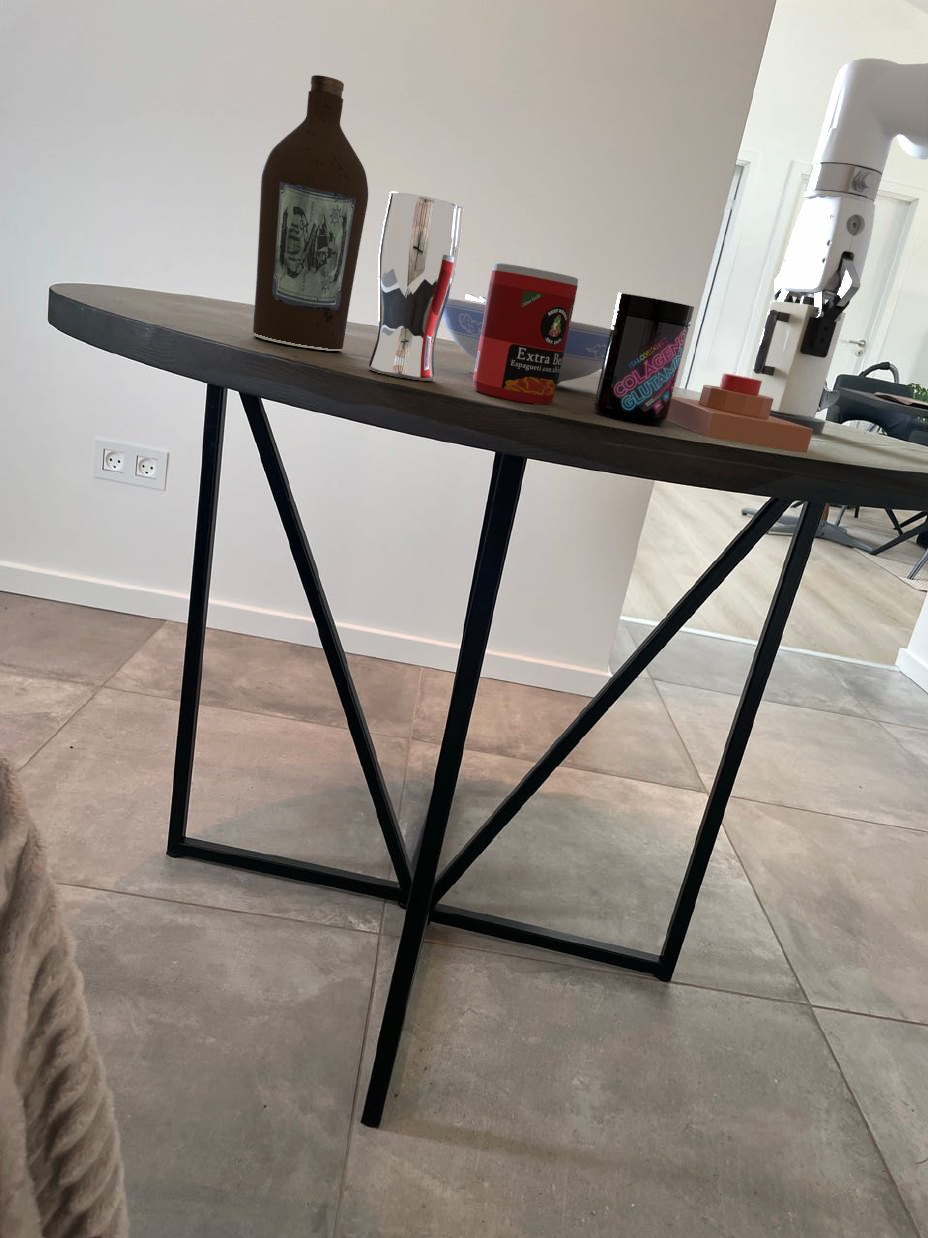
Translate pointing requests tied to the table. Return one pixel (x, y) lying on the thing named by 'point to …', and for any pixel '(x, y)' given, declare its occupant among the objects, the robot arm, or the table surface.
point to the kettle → (791, 359)
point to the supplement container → (642, 359)
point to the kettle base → (801, 421)
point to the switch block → (738, 419)
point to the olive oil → (310, 227)
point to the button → (740, 384)
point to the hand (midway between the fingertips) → (795, 351)
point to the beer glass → (414, 282)
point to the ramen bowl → (580, 348)
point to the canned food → (524, 333)
